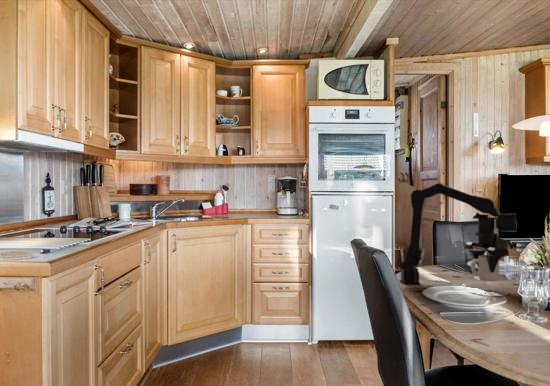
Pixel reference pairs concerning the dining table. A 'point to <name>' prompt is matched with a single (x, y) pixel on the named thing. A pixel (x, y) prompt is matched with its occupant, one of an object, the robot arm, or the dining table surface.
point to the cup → (485, 269)
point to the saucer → (491, 289)
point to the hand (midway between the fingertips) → (485, 270)
